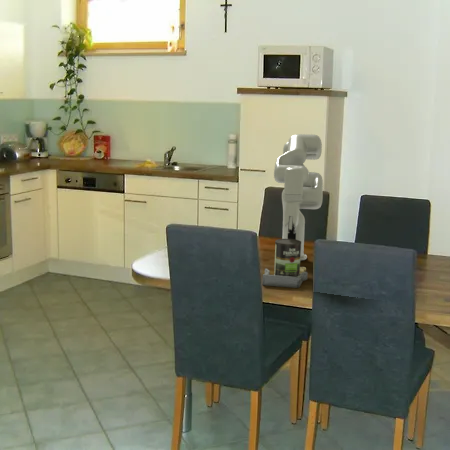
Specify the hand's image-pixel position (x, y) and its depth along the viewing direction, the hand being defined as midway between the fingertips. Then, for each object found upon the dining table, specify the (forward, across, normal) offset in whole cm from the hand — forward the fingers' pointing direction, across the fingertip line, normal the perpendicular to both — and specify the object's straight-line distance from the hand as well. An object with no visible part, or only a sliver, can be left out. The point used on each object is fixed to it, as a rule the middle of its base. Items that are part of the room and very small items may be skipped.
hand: (291, 242), depth 281 cm
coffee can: (+12, +9, 0) cm, 15 cm away
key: (+12, +2, +5) cm, 13 cm away
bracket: (+12, +19, 0) cm, 22 cm away
